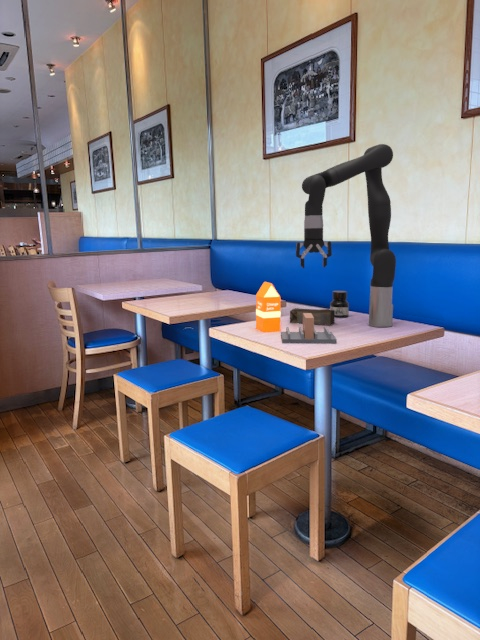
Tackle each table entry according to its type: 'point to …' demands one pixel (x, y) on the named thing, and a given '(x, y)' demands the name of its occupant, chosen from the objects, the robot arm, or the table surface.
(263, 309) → the orange juice
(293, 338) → the rack
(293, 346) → the table surface
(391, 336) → the table surface
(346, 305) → the ink bottle
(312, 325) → the wooden block
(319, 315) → the weathered grey box
